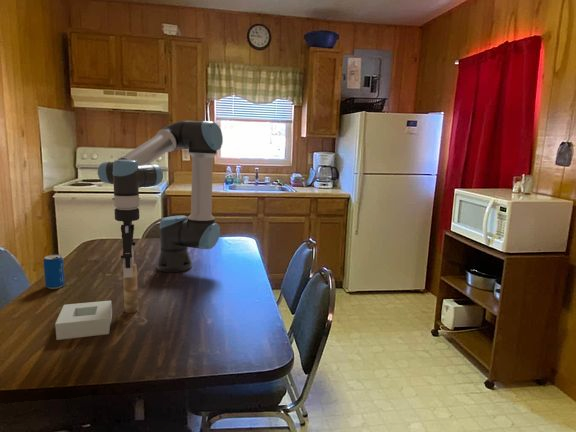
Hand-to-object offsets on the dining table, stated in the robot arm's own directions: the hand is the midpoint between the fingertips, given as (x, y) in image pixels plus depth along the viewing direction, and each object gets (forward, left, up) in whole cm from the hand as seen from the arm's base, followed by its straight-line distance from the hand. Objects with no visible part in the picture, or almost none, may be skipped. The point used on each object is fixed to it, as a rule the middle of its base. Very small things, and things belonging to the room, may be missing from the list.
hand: (129, 270), depth 139 cm
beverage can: (+28, -30, -15) cm, 44 cm away
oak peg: (0, 0, -14) cm, 14 cm away
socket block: (+13, +9, -14) cm, 21 cm away
